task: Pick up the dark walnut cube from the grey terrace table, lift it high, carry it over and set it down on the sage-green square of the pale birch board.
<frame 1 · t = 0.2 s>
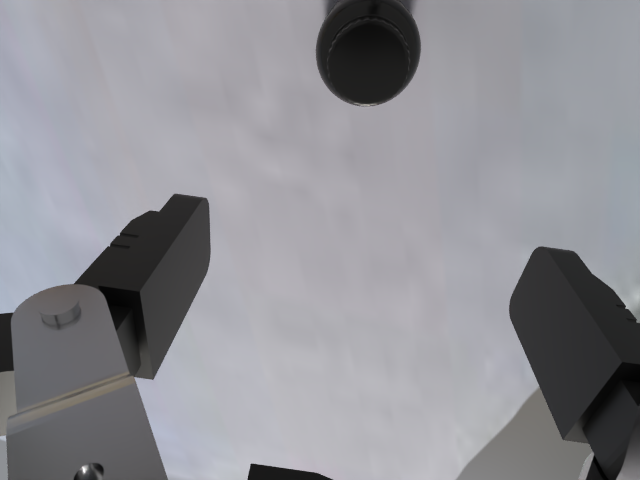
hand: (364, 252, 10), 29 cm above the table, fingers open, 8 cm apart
supplement bottle: (366, 36, 34), on the table
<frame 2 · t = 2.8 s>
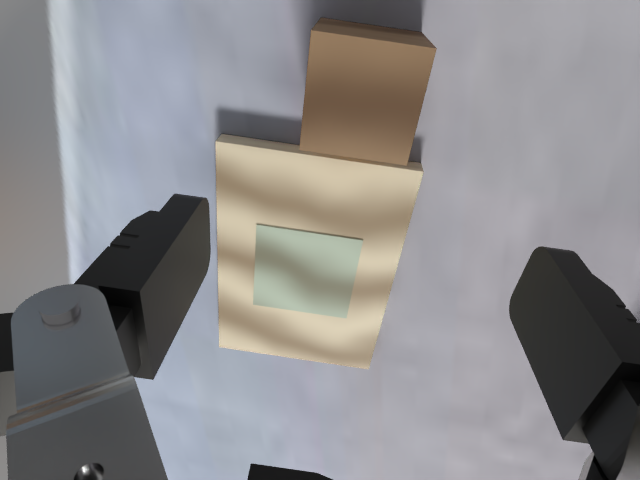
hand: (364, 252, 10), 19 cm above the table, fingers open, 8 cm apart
walnut block: (362, 77, 27), on the table
birch board: (306, 262, 35), on the table
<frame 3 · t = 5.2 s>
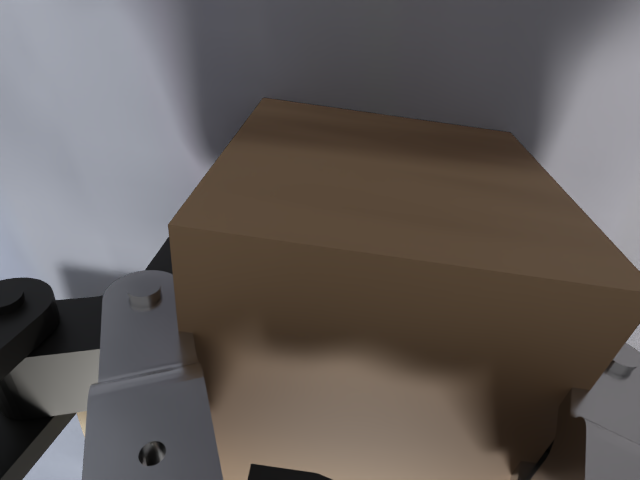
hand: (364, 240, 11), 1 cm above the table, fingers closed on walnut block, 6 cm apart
walnut block: (364, 221, 12), on the table, touching gripper
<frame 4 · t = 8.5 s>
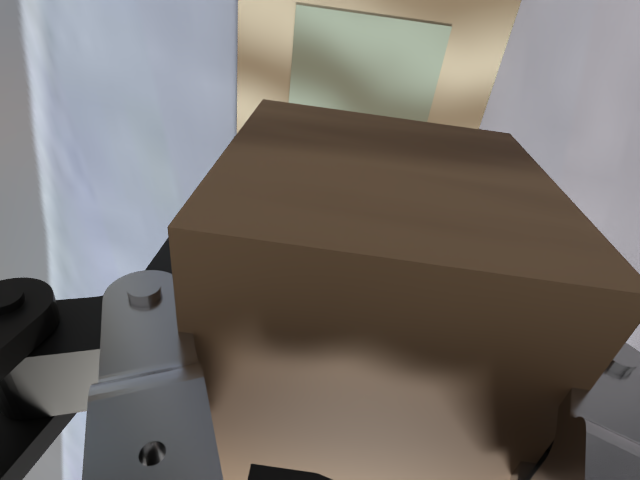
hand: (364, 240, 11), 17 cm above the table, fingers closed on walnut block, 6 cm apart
walnut block: (364, 222, 12), point 16 cm above the table, touching gripper
birch board: (360, 88, 25), on the table
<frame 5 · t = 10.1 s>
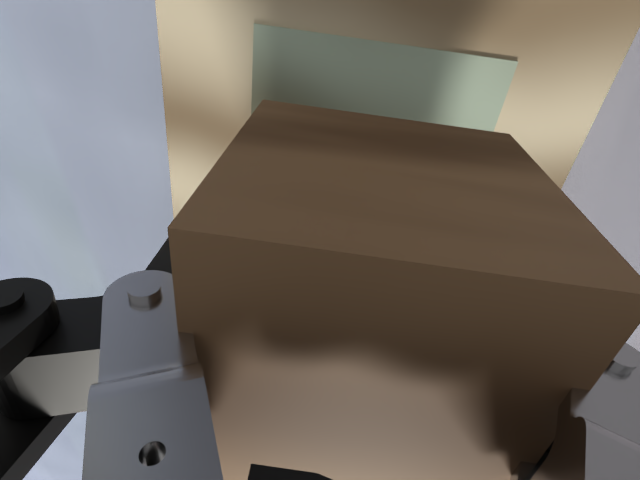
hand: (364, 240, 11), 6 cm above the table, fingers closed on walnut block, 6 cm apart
walnut block: (364, 222, 12), point 5 cm above the table, touching gripper
birch board: (362, 149, 16), on the table
when the fingers open (4 cm above the table, at t = 11.6 s): walnut block drops 1 cm, resting on birch board.
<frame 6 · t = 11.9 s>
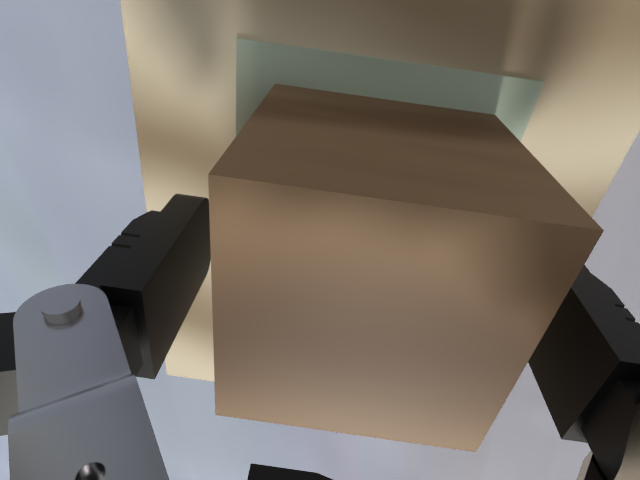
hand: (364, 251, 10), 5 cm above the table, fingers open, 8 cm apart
walnut block: (365, 197, 13), point 2 cm above the table, touching birch board
birch board: (362, 176, 14), on the table
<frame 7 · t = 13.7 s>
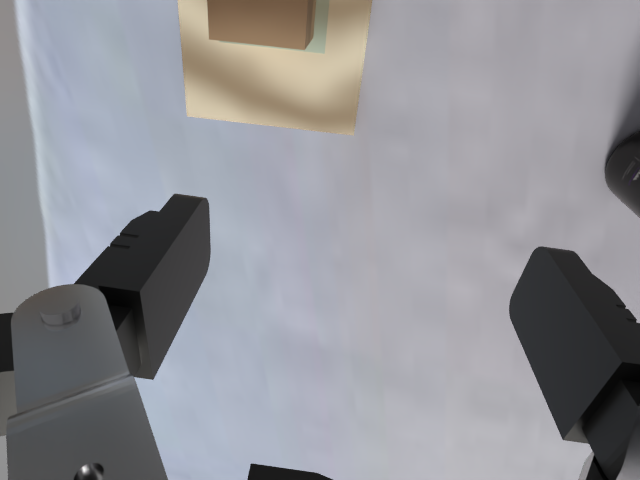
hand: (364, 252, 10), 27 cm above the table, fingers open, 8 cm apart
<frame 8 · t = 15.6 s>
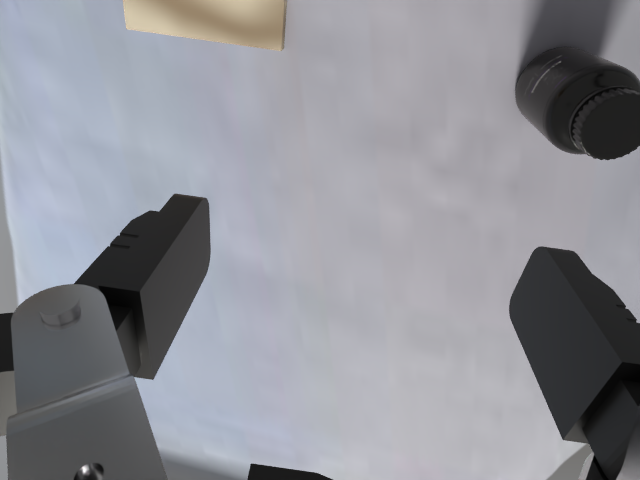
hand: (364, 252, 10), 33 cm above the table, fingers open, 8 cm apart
supplement bottle: (550, 85, 39), on the table
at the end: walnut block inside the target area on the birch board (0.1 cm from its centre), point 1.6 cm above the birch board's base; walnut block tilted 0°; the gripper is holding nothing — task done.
